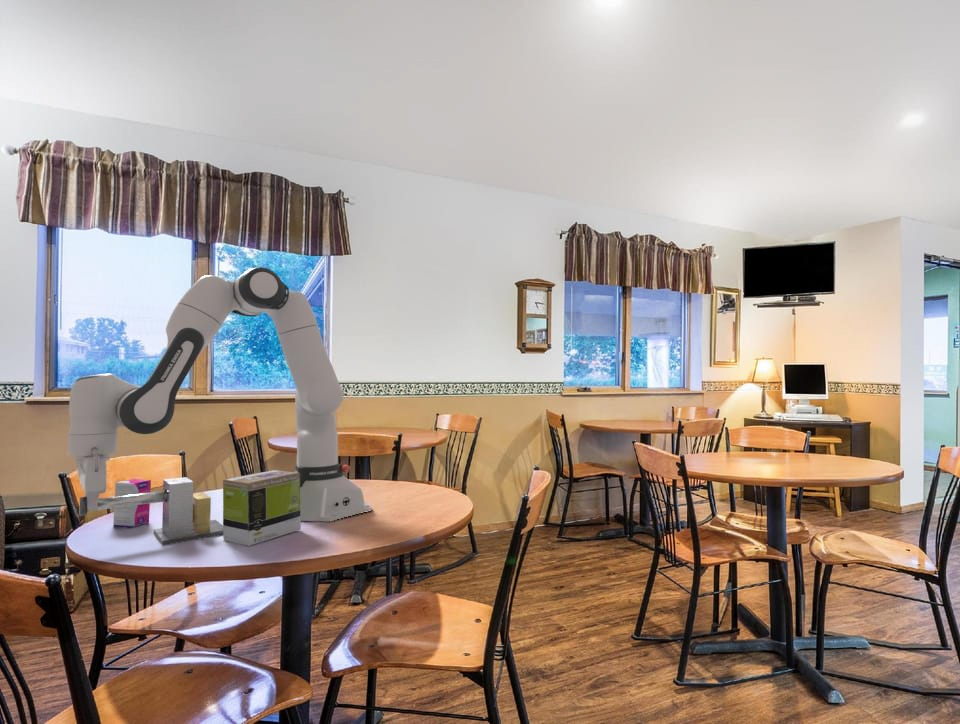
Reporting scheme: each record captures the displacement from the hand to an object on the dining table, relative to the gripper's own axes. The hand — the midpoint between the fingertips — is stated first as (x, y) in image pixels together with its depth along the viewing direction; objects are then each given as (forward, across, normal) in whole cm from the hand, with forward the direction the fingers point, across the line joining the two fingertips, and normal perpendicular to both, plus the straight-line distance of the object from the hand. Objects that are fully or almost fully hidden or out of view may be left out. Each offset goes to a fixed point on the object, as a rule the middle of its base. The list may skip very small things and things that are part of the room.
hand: (91, 508), depth 116 cm
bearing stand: (+9, 0, -20) cm, 22 cm away
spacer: (+8, 0, -22) cm, 23 cm away
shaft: (+1, 0, -8) cm, 8 cm away
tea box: (+10, -13, -33) cm, 37 cm away
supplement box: (+10, +19, -10) cm, 23 cm away
